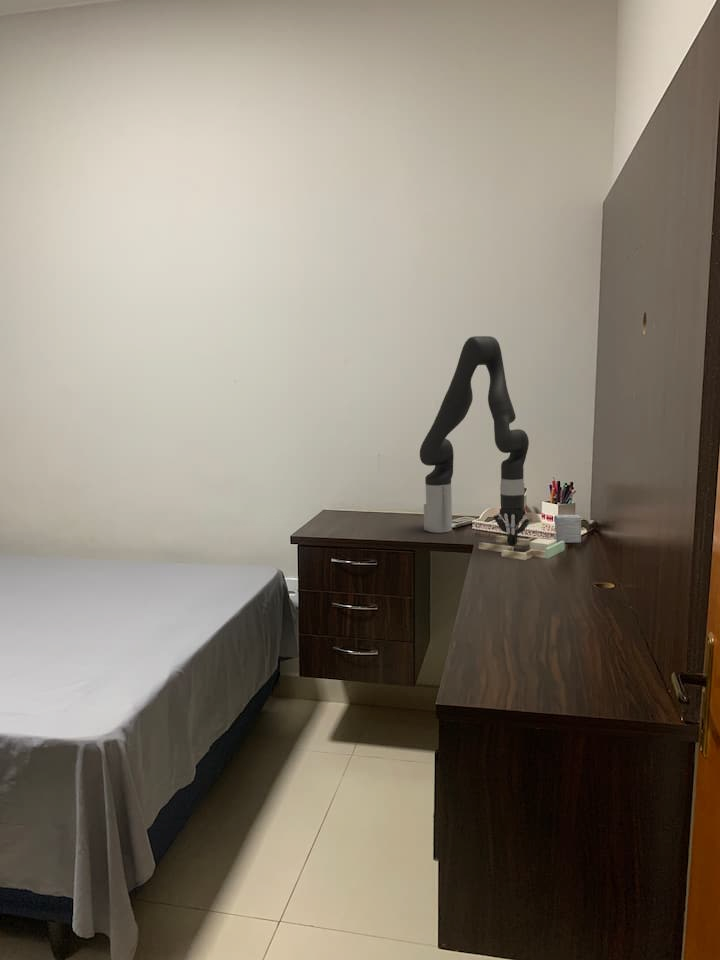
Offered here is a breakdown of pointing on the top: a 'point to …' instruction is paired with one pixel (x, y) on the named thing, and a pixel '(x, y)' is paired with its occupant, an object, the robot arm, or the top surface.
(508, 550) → the trap track
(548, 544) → the ivory block
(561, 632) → the top surface
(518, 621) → the top surface
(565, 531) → the medicine box
